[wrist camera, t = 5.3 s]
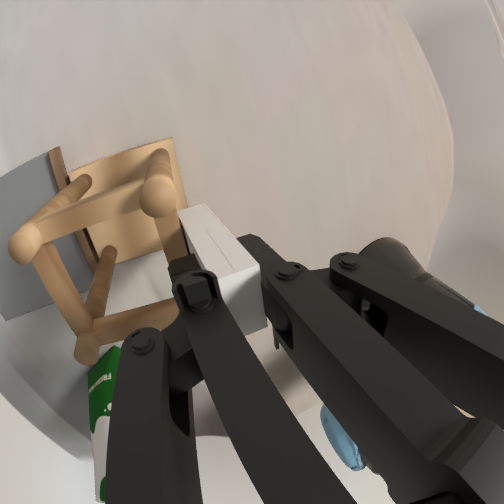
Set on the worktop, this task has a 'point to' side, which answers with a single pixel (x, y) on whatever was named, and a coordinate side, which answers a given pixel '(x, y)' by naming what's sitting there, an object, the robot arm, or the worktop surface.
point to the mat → (12, 219)
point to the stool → (109, 238)
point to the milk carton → (101, 413)
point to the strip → (62, 183)
